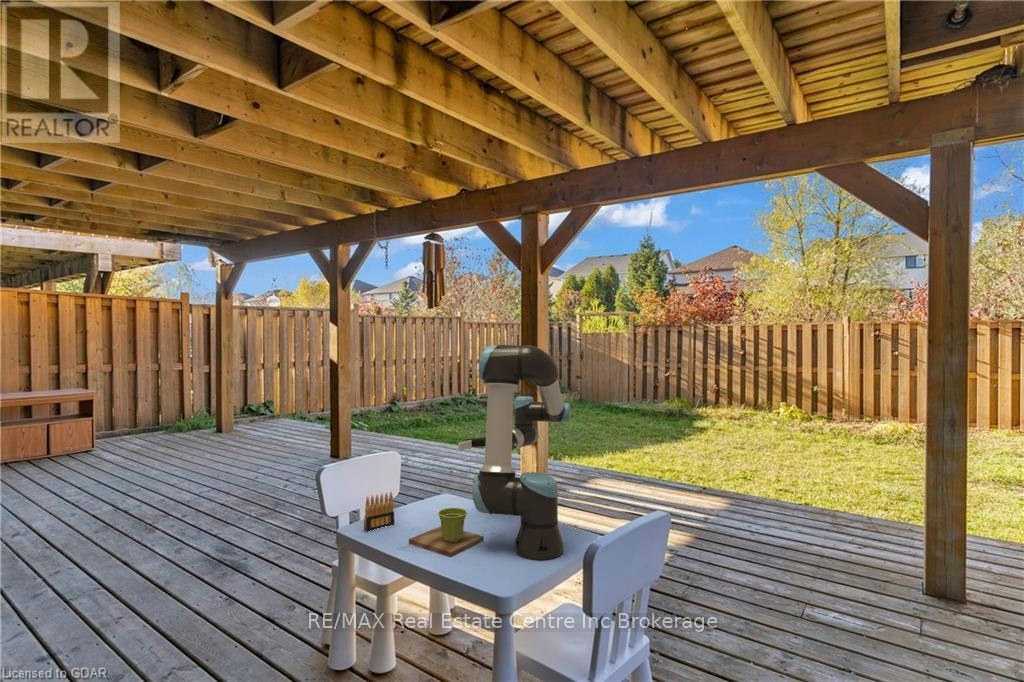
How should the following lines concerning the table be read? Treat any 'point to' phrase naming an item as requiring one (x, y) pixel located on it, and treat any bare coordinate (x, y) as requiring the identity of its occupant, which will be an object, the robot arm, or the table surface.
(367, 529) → the ammunition clip
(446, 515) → the plant pot
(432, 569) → the table surface
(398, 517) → the table surface
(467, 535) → the walnut board
